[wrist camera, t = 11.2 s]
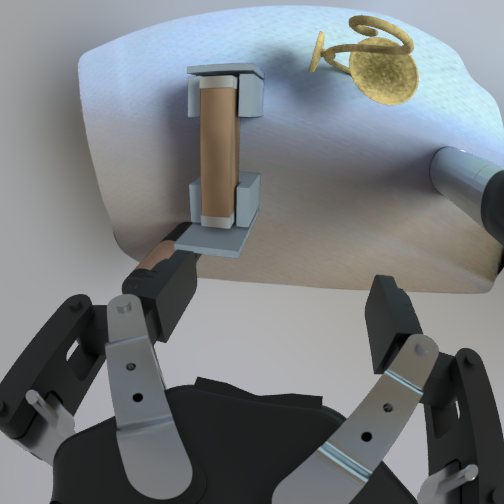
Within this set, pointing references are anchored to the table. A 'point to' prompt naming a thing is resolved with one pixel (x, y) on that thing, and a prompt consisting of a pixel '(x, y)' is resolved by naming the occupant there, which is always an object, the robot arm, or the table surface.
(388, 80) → the wall sconce
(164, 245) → the travel mug
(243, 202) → the pair of grey brackets
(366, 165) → the table surface
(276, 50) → the table surface
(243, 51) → the table surface
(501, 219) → the robot arm
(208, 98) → the brown wooden bar
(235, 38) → the table surface
